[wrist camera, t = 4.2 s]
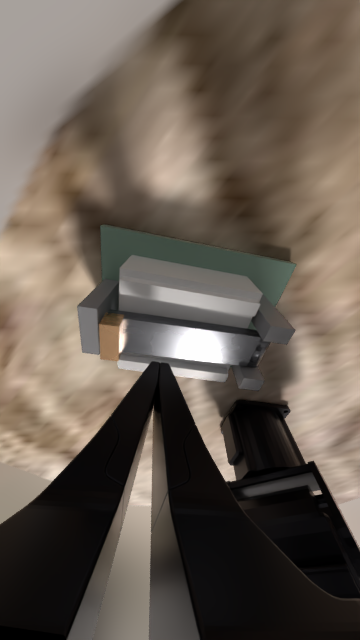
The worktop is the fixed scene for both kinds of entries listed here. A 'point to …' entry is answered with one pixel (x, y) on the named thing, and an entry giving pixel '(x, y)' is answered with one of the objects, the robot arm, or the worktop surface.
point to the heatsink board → (186, 295)
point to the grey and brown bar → (178, 339)
